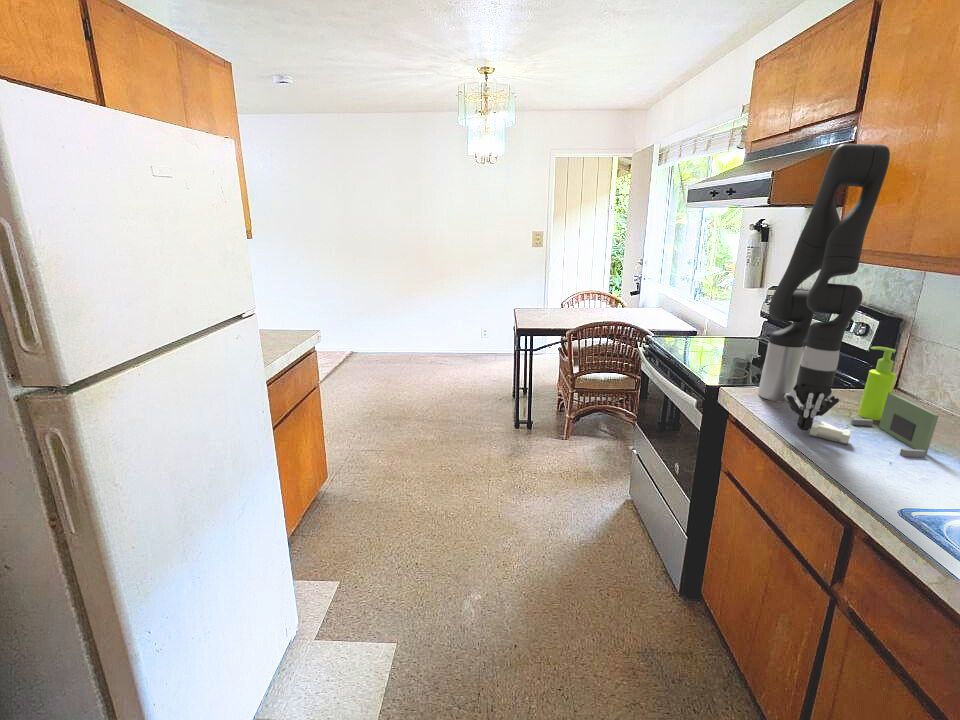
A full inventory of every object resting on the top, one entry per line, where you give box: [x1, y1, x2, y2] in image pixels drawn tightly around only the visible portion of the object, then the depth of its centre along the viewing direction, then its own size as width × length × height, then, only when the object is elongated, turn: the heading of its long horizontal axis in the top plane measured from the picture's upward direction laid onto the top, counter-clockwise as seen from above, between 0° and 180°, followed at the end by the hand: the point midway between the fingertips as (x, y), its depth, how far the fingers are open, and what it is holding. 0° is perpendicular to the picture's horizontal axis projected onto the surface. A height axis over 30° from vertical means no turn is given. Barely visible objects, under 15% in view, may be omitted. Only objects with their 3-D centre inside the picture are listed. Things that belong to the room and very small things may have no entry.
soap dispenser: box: [857, 346, 897, 421], centre depth 138 cm, size 6×7×20 cm
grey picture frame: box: [850, 392, 940, 458], centre depth 124 cm, size 19×7×10 cm, turn 176°
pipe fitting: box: [809, 421, 852, 446], centre depth 125 cm, size 8×4×7 cm
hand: (803, 429), depth 126 cm, fingers closed
